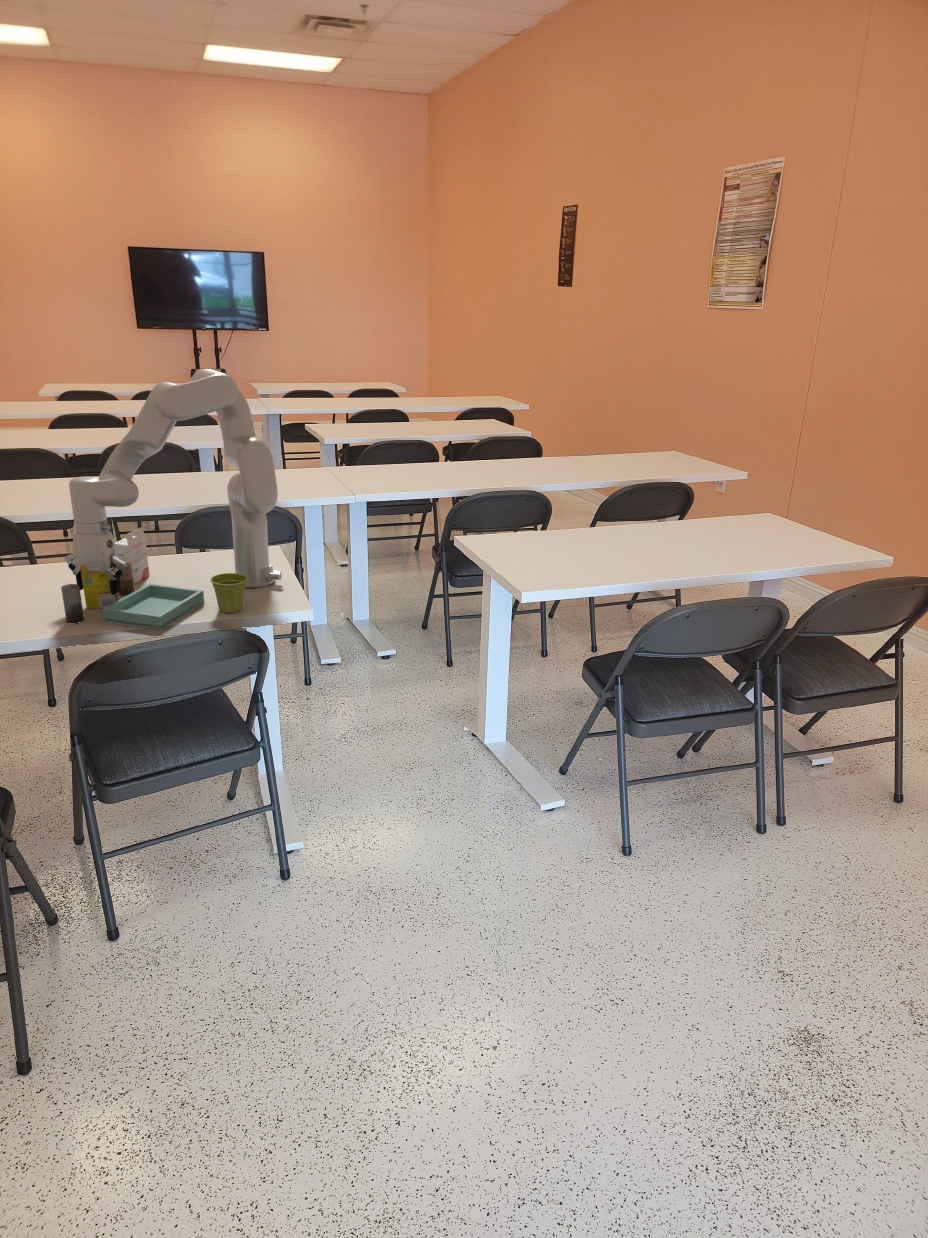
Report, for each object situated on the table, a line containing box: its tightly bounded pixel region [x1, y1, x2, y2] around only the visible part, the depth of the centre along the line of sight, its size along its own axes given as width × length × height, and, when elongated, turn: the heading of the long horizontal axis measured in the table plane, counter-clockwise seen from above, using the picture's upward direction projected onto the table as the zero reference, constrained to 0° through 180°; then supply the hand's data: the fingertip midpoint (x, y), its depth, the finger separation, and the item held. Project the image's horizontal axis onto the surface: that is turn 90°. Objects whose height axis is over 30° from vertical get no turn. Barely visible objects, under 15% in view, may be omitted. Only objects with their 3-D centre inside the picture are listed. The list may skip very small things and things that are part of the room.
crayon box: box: [80, 566, 119, 610], centre depth 206 cm, size 7×3×12 cm, turn 106°
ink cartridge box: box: [115, 526, 150, 585], centre depth 225 cm, size 9×5×15 cm, turn 168°
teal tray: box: [101, 583, 205, 631], centre depth 205 cm, size 16×20×4 cm
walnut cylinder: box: [117, 560, 136, 597], centre depth 216 cm, size 4×4×9 cm
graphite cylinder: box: [60, 583, 85, 624], centre depth 197 cm, size 4×4×9 cm
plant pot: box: [209, 572, 248, 614], centre depth 208 cm, size 9×9×9 cm
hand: (99, 590), depth 206 cm, fingers open, 9 cm apart
